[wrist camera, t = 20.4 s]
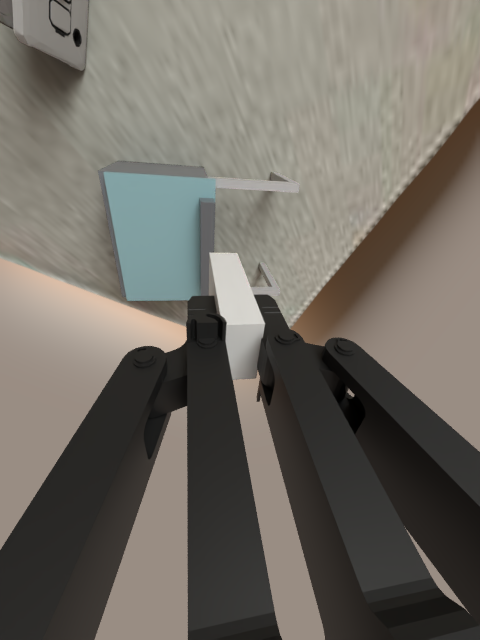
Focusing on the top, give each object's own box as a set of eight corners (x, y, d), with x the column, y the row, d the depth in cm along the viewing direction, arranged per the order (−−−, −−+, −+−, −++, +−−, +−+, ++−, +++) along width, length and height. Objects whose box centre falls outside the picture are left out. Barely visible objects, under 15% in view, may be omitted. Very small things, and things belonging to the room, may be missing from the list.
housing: (134, 266, 47) (122, 296, 39) (117, 160, 38) (97, 170, 30) (264, 267, 51) (279, 295, 43) (277, 172, 42) (299, 183, 34)
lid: (128, 298, 39) (123, 310, 36) (105, 171, 30) (97, 175, 27) (212, 297, 41) (213, 308, 38) (215, 178, 32) (217, 183, 29)
